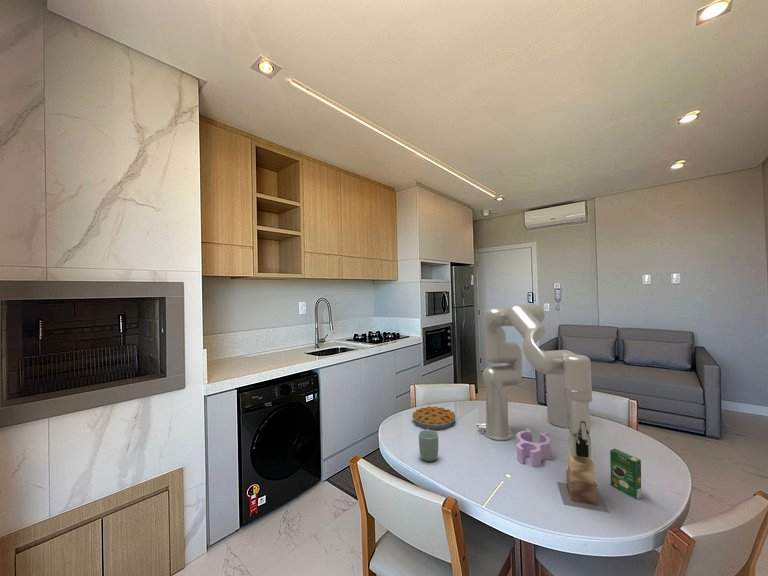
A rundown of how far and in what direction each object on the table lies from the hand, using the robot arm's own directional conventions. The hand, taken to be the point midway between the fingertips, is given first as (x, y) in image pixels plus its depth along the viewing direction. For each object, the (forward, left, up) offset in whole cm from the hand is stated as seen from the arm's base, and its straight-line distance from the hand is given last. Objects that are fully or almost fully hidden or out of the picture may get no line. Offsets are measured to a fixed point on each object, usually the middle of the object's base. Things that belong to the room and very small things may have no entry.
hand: (580, 451), depth 99 cm
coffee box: (+14, +7, -16) cm, 22 cm away
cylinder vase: (+5, +62, -16) cm, 64 cm away
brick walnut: (0, 0, -14) cm, 14 cm away
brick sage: (0, 0, -1) cm, 1 cm away
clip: (-12, +24, -16) cm, 31 cm away
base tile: (0, 0, -15) cm, 15 cm away
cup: (-51, +10, -16) cm, 54 cm away
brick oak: (0, 0, -8) cm, 8 cm away
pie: (-56, +46, -16) cm, 74 cm away
